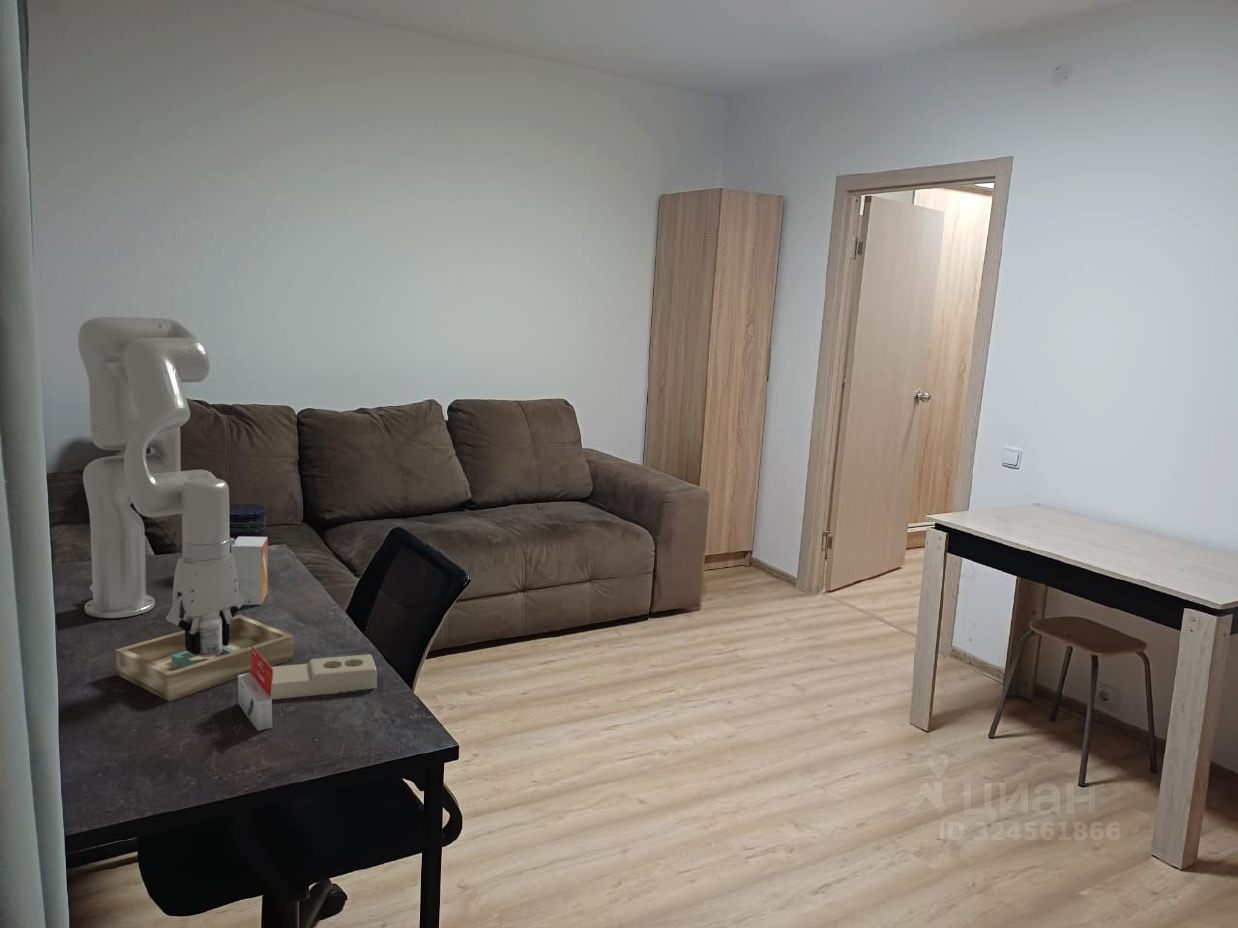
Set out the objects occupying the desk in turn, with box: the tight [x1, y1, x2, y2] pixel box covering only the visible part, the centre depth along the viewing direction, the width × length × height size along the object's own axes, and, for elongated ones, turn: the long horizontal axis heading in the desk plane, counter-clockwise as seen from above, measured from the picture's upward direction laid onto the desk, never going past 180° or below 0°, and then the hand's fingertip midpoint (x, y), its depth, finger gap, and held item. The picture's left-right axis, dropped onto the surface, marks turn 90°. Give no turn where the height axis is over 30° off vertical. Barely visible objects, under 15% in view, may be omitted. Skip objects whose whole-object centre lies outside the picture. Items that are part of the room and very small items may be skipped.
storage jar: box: [229, 503, 267, 553], centre depth 216 cm, size 10×10×15 cm
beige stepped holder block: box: [271, 653, 378, 700], centre depth 159 cm, size 7×4×18 cm
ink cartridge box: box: [237, 646, 273, 732], centre depth 146 cm, size 2×11×10 cm, turn 37°
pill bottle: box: [196, 611, 222, 657], centre depth 162 cm, size 5×5×8 cm
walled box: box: [115, 614, 295, 702], centre depth 163 cm, size 16×24×4 cm, turn 147°
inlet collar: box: [171, 645, 235, 667], centre depth 163 cm, size 8×8×1 cm
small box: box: [231, 536, 269, 606], centre depth 197 cm, size 8×6×13 cm
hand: (207, 647), depth 163 cm, fingers closed on pill bottle, 4 cm apart
